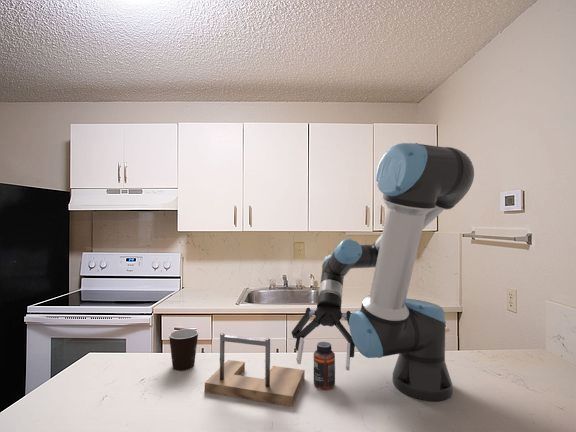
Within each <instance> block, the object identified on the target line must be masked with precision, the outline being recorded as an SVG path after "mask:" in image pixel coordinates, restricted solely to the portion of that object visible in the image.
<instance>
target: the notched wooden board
mask: <svg viewBox="0 0 576 432" xmlns="http://www.w3.org/2000/svg"><path fill="white" fill-rule="evenodd" d="M245 363H246V362H245V361H240V360H233V359H227V360H226V361H224V380H220V367H219V368H218V369H217V370H216V371H215V372H214V373H213V374H212V375H210V377H208V378H207V379H206V380H205V382H204V392H205V393H207V394H215V395H219V396H220V395H221V396H225V397H233V398H238V399H242V400H250V401H256V402H260V403H261V402H262V403H267V404H268V403H269V404H272V405H273V404H274V405H281V406H286V407H291V408H292V407H294V405H295V403H296V400H297V397H298V395H299V393H300V390H301V388H302V386H303V384H304V381H305V369H299V368H292V367H286V366H279V365H278V366H277V365H273V366H272V367H270V386H269V387H266V386H265V377H264V378H259V377H251V376H245V375H242V374H243V373H244V371H246V369H245V368H246V367H245V366H246V364H245Z"/></svg>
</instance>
